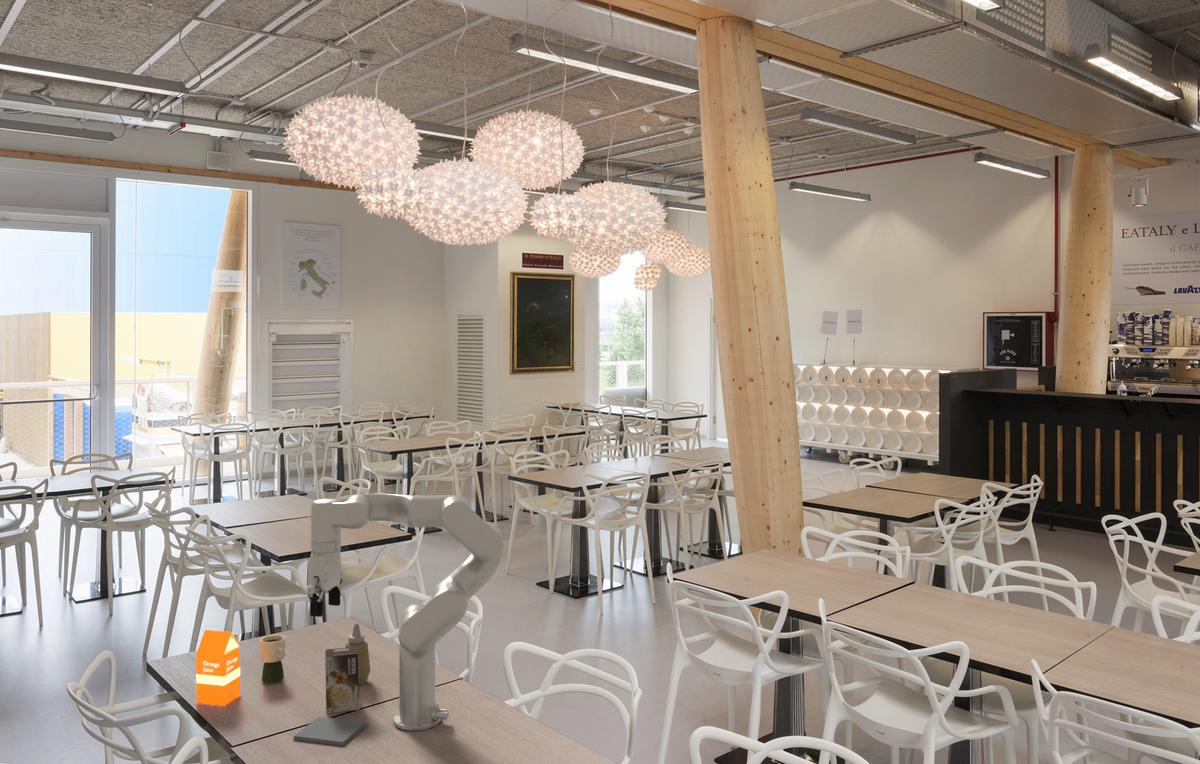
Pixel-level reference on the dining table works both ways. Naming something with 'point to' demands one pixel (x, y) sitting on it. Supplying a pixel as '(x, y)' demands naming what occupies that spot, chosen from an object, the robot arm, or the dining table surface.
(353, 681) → the coffee box
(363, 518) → the robot arm
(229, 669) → the orange juice
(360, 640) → the squeeze bottle
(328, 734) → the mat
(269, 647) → the character mug
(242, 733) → the dining table surface
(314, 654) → the dining table surface
